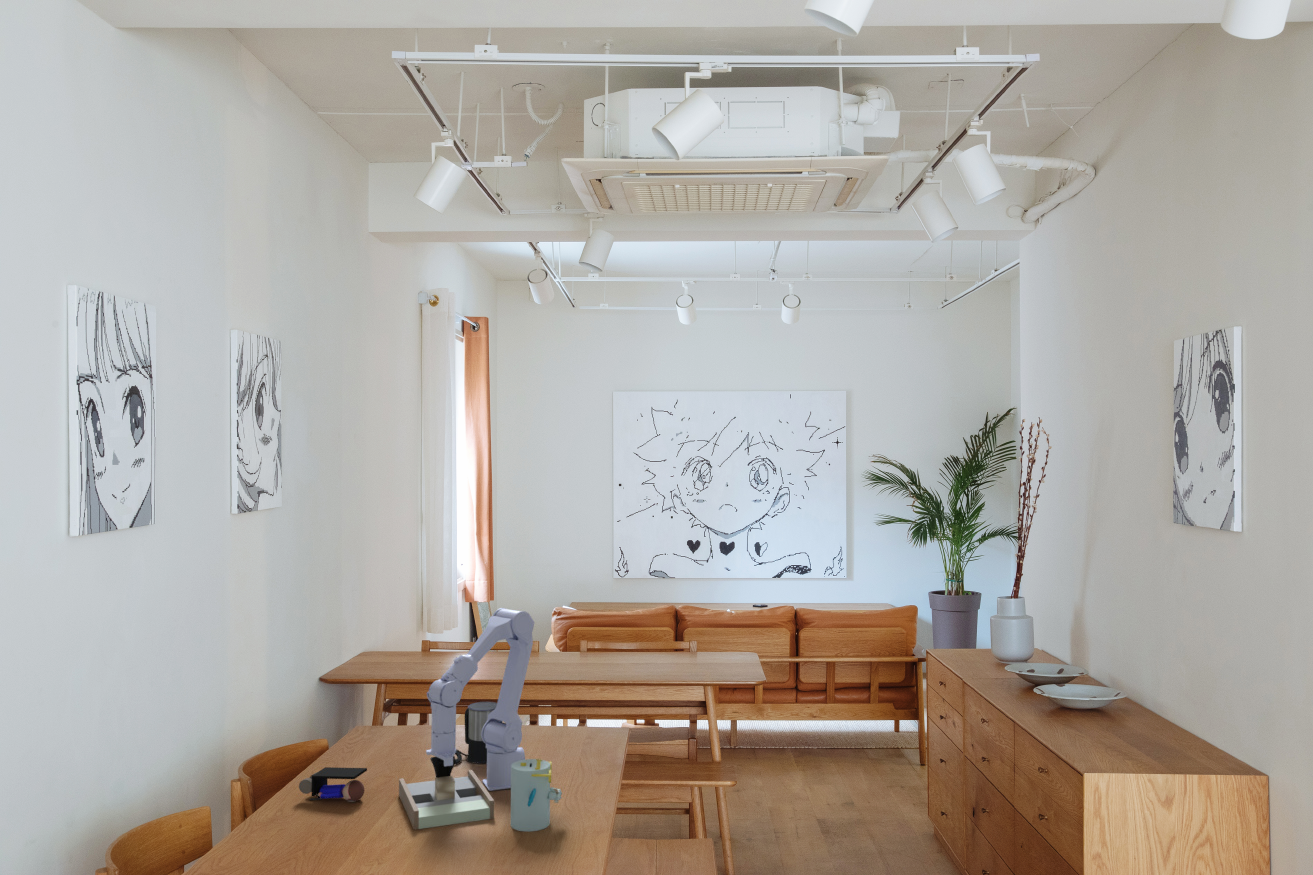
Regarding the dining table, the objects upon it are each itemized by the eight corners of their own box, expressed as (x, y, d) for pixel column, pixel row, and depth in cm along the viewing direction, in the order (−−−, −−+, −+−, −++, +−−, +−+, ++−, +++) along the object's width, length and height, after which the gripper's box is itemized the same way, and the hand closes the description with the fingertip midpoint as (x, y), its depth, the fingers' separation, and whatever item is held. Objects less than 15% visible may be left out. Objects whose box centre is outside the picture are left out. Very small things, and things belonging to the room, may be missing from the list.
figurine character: (298, 808, 222) (356, 805, 219) (295, 776, 222) (354, 772, 219) (314, 798, 228) (370, 795, 226) (311, 767, 229) (368, 764, 226)
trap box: (471, 785, 234) (472, 769, 234) (494, 817, 212) (494, 800, 212) (398, 794, 227) (399, 778, 227) (413, 829, 205) (414, 811, 205)
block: (451, 792, 221) (451, 775, 222) (454, 797, 218) (454, 780, 218) (434, 794, 220) (434, 777, 220) (437, 800, 216) (437, 782, 216)
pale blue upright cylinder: (561, 840, 199) (562, 777, 200) (507, 841, 198) (508, 778, 199) (561, 807, 219) (562, 749, 220) (512, 808, 218) (513, 751, 219)
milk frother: (507, 757, 257) (508, 704, 258) (467, 773, 244) (468, 716, 245) (470, 749, 265) (471, 697, 266) (429, 763, 252) (430, 708, 252)
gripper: (421, 724, 228) (421, 780, 227) (431, 740, 214) (430, 799, 214) (450, 721, 231) (449, 777, 230) (462, 737, 217) (461, 795, 217)
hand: (442, 787), depth 222 cm, fingers closed
